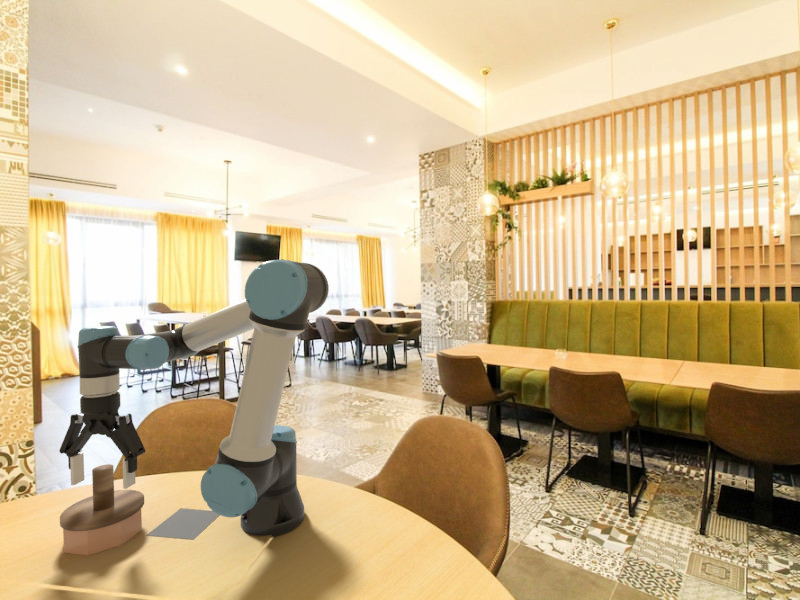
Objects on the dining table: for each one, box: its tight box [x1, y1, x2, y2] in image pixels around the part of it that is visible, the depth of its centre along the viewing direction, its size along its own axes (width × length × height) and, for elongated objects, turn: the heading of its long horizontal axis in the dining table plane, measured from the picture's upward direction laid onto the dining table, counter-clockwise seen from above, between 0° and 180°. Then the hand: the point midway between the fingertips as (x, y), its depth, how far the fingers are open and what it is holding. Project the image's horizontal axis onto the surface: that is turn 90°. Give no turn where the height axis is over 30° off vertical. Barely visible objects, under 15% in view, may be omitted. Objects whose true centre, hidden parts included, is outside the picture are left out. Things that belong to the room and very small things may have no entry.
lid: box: [59, 463, 145, 531], centre depth 97 cm, size 16×16×10 cm
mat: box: [146, 507, 220, 540], centre depth 102 cm, size 12×12×1 cm
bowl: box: [62, 508, 143, 556], centre depth 97 cm, size 14×14×6 cm
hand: (103, 484), depth 97 cm, fingers open, 13 cm apart
